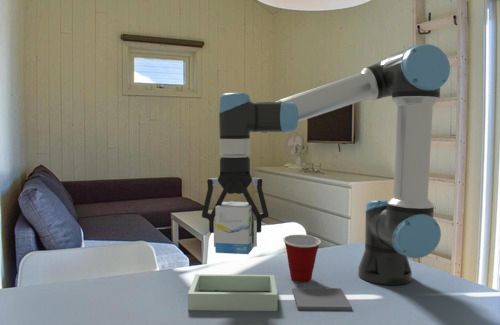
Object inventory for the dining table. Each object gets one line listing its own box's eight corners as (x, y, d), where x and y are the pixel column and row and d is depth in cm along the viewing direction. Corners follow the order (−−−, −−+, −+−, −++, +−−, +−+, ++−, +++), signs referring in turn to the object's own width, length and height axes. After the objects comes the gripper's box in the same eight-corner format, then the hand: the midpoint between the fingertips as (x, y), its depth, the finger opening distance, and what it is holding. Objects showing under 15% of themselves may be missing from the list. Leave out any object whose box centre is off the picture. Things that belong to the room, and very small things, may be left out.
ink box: (248, 255, 108) (248, 207, 107) (214, 253, 110) (214, 206, 109) (255, 246, 116) (255, 201, 116) (223, 244, 118) (223, 200, 117)
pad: (340, 291, 120) (340, 288, 120) (351, 310, 107) (351, 307, 107) (292, 290, 120) (292, 287, 120) (297, 309, 107) (297, 306, 107)
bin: (273, 289, 121) (274, 275, 121) (277, 311, 107) (277, 294, 106) (195, 288, 121) (195, 274, 121) (187, 310, 106) (187, 293, 106)
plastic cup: (289, 287, 123) (290, 244, 123) (277, 275, 134) (278, 235, 133) (326, 284, 126) (327, 242, 125) (311, 272, 136) (312, 233, 136)
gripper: (277, 155, 115) (278, 241, 117) (192, 155, 115) (193, 242, 117) (279, 156, 108) (280, 248, 109) (188, 157, 108) (190, 249, 109)
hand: (235, 245), depth 113 cm, fingers closed on ink box, 9 cm apart
